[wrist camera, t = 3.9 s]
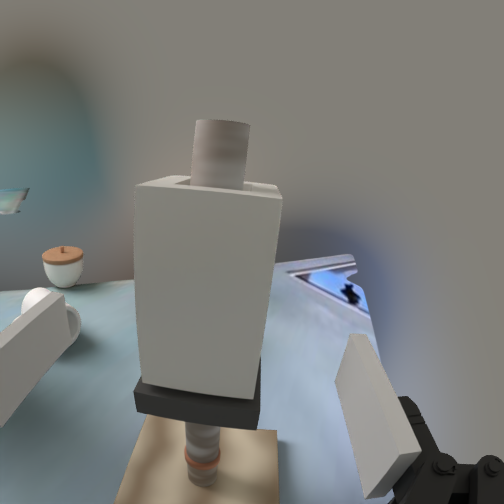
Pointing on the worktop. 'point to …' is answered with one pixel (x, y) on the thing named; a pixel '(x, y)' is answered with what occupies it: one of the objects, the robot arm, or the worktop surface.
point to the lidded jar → (63, 265)
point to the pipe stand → (198, 435)
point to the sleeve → (203, 283)
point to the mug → (72, 313)
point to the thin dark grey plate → (199, 406)
